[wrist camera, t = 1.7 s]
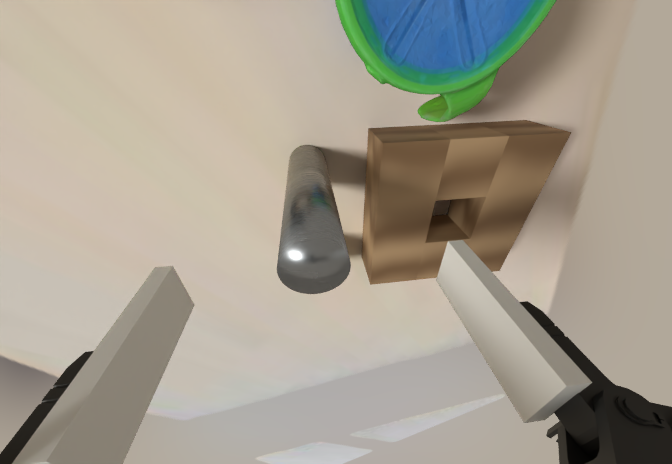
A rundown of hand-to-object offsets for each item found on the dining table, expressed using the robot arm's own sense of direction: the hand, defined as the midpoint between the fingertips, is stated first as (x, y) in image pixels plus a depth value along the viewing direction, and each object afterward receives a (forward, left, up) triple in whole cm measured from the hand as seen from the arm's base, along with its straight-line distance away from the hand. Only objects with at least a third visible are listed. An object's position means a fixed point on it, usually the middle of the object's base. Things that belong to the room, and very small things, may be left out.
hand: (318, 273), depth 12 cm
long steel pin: (0, 0, -15) cm, 15 cm away
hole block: (+5, +14, -15) cm, 21 cm away
